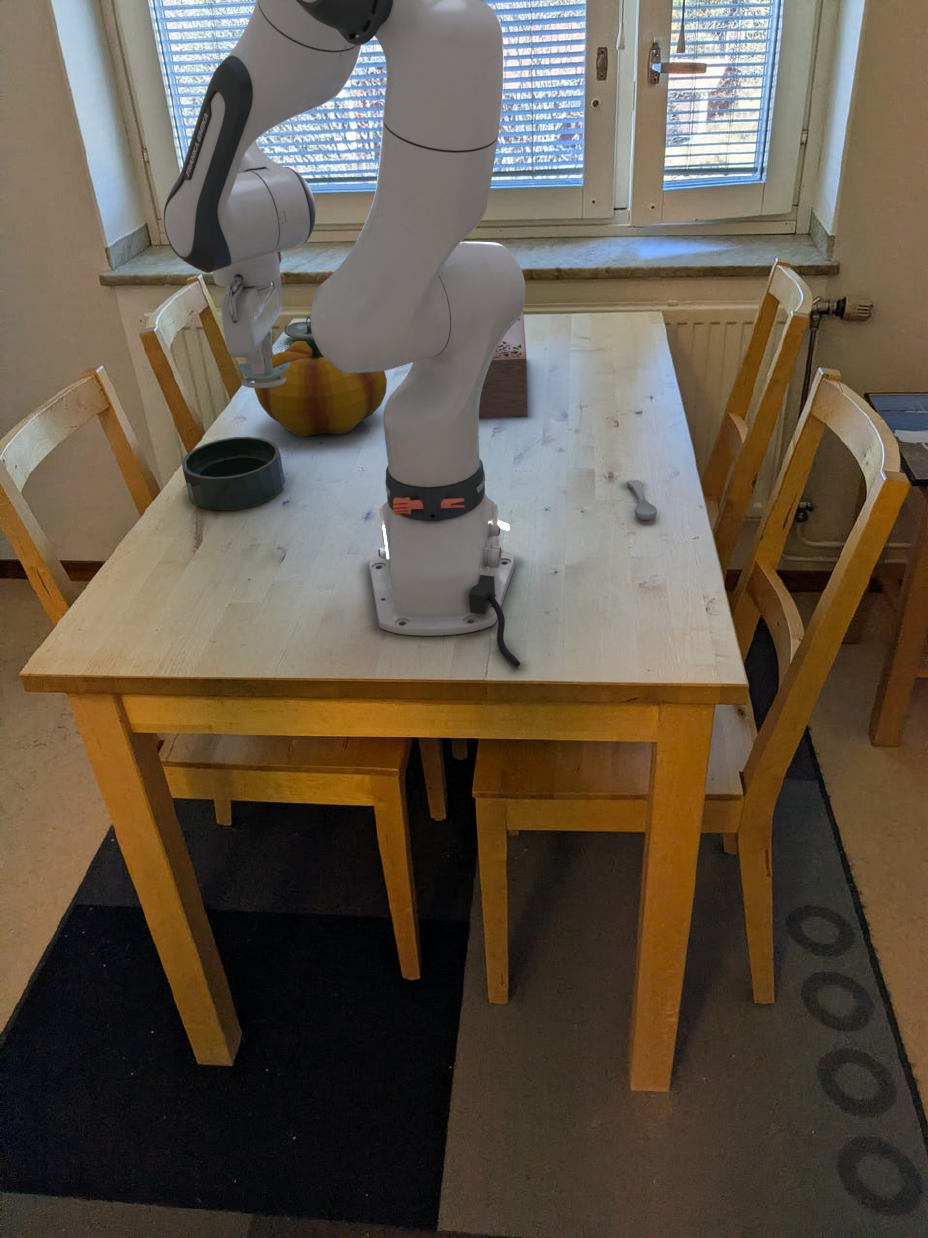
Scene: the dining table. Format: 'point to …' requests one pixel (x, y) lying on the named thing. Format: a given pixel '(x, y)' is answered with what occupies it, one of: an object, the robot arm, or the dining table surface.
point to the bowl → (233, 473)
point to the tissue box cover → (507, 377)
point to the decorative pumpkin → (320, 393)
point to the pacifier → (270, 374)
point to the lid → (300, 330)
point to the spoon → (642, 502)
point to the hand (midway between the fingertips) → (263, 365)
